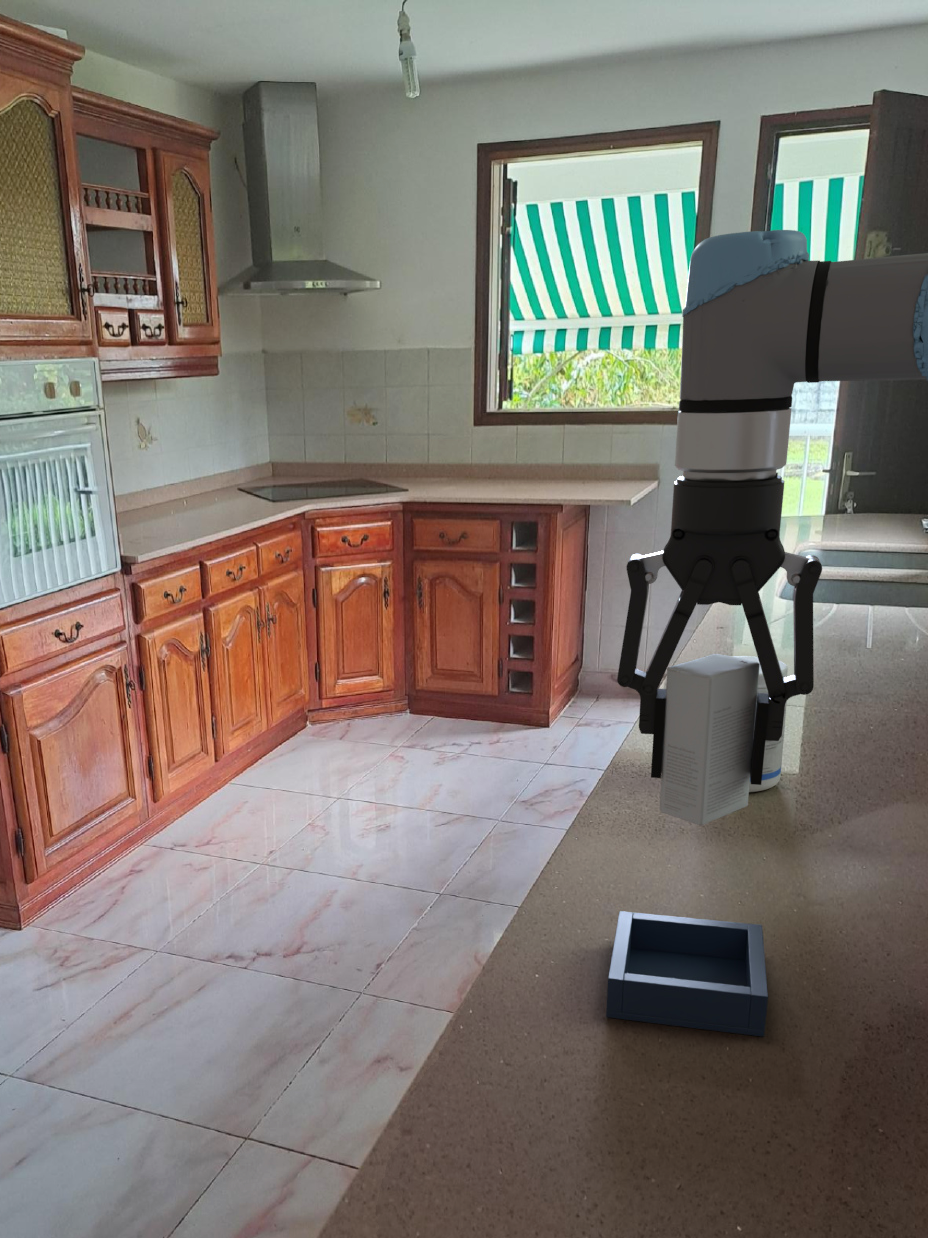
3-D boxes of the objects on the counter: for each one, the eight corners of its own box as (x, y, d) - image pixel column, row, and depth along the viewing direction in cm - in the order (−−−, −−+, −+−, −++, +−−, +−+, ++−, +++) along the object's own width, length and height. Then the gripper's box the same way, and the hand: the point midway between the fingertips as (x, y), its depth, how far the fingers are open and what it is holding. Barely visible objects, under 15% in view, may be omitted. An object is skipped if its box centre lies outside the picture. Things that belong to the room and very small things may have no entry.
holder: (758, 961, 96) (762, 924, 95) (763, 1037, 86) (768, 996, 84) (617, 946, 100) (619, 910, 99) (606, 1017, 89) (607, 978, 88)
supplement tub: (796, 782, 135) (808, 665, 130) (745, 801, 130) (756, 679, 125) (730, 762, 143) (739, 650, 138) (679, 779, 138) (687, 664, 133)
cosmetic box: (703, 793, 92) (715, 652, 88) (748, 808, 89) (763, 661, 84) (655, 811, 89) (665, 665, 84) (700, 827, 85) (712, 676, 81)
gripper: (873, 466, 80) (836, 767, 88) (594, 470, 86) (584, 752, 94) (887, 477, 73) (845, 802, 81) (583, 480, 79) (573, 783, 87)
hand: (705, 774), depth 87 cm, fingers closed on cosmetic box, 7 cm apart
